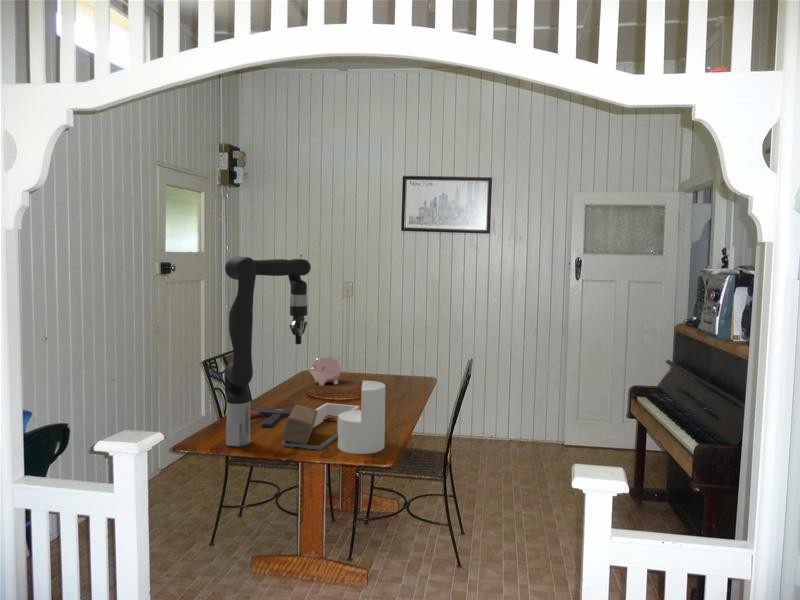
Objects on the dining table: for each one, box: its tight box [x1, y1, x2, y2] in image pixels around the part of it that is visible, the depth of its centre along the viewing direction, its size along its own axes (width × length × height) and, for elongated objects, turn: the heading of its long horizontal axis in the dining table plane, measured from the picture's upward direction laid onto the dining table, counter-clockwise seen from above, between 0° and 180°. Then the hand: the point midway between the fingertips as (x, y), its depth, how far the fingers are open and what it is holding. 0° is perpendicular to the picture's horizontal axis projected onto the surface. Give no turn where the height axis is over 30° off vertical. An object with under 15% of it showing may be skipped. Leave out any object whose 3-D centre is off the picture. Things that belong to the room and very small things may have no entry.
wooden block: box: [282, 404, 317, 445], centre depth 269 cm, size 10×10×20 cm
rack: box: [313, 402, 360, 434], centre depth 290 cm, size 24×16×7 cm
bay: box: [279, 432, 338, 451], centre depth 268 cm, size 22×17×1 cm
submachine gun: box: [250, 406, 293, 429], centre depth 299 cm, size 32×3×25 cm
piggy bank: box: [309, 355, 341, 386], centre depth 379 cm, size 15×18×16 cm
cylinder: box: [337, 380, 386, 455], centre depth 261 cm, size 19×19×25 cm
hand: (298, 344), depth 285 cm, fingers closed
